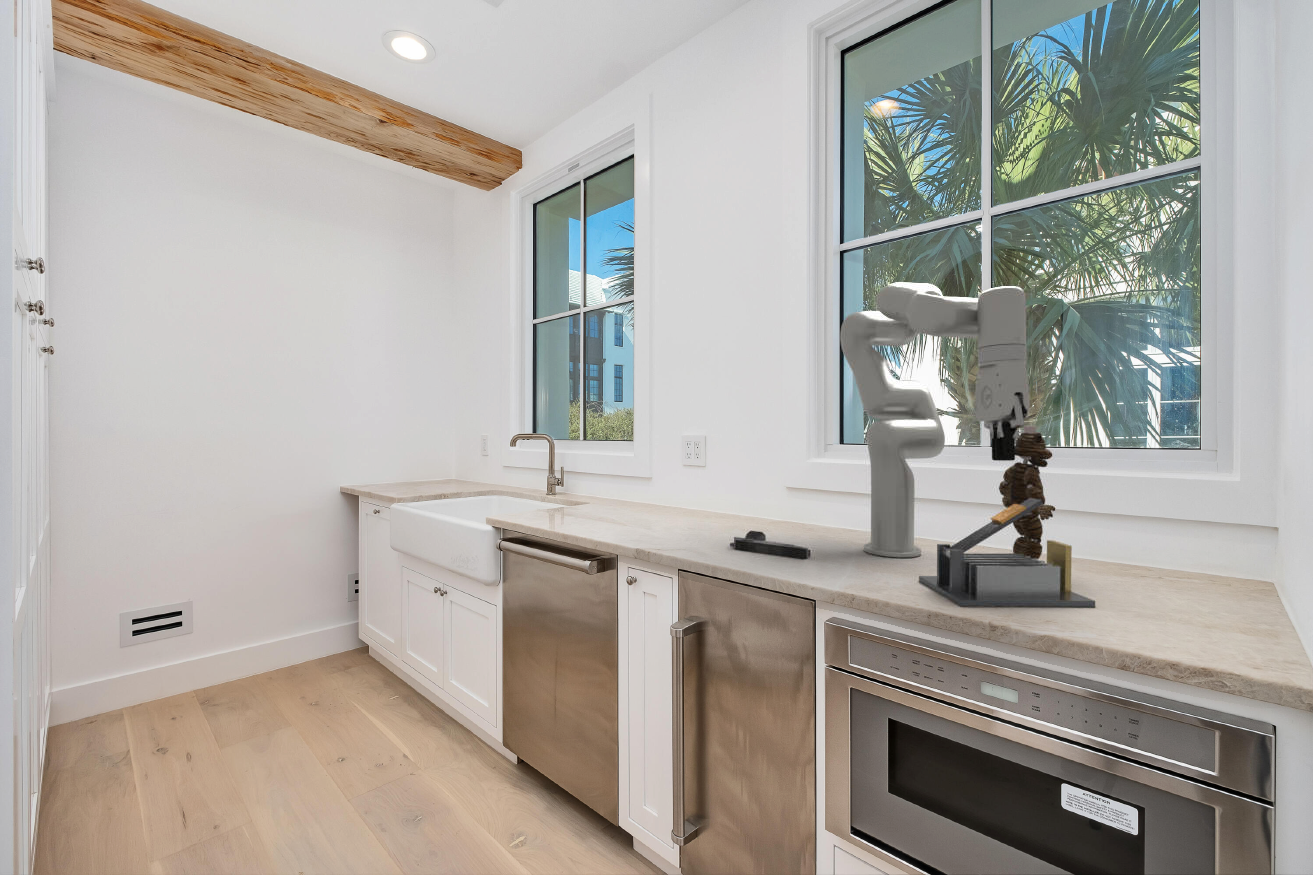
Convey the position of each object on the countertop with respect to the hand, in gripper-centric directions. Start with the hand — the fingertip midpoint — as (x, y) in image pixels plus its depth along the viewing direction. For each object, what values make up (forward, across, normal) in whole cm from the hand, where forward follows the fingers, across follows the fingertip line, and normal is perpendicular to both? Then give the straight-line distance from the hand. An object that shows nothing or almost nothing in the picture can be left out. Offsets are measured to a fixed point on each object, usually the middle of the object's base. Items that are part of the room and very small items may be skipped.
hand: (1003, 460), depth 105 cm
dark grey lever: (+13, 0, -2) cm, 13 cm away
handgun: (+23, -37, -35) cm, 55 cm away
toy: (+24, -17, +14) cm, 32 cm away
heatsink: (+24, 0, -1) cm, 24 cm away
